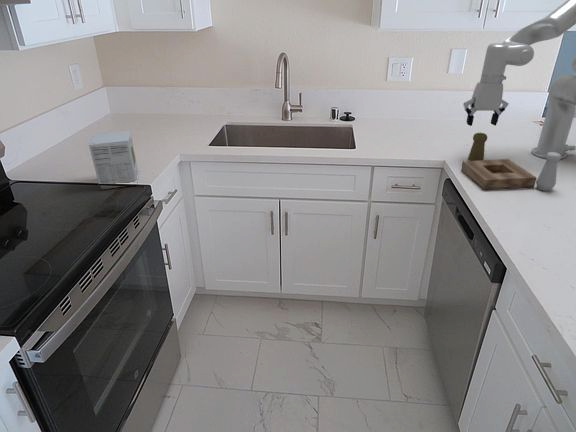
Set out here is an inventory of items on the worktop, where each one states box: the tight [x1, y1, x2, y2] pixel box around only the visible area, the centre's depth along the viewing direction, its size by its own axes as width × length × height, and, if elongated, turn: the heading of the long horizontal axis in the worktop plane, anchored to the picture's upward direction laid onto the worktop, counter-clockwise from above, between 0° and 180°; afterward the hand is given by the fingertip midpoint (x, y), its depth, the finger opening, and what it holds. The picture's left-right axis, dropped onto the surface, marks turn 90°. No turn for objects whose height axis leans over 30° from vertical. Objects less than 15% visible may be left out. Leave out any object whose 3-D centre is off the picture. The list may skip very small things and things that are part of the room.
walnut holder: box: [460, 158, 538, 192], centre depth 151 cm, size 18×18×4 cm
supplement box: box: [88, 130, 139, 185], centre depth 154 cm, size 13×13×18 cm
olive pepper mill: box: [467, 132, 488, 161], centre depth 167 cm, size 6×6×11 cm
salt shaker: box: [535, 152, 562, 192], centre depth 141 cm, size 6×6×13 cm
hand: (481, 124), depth 163 cm, fingers open, 9 cm apart
